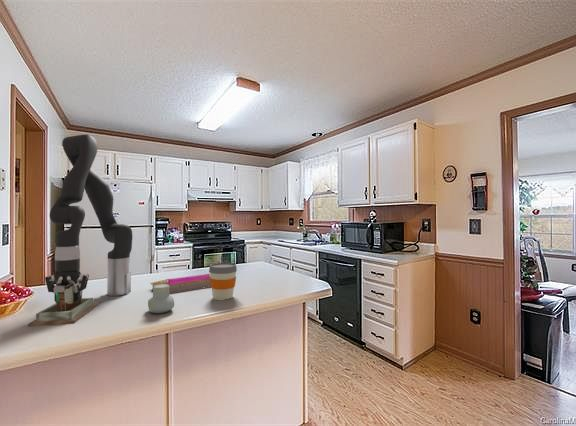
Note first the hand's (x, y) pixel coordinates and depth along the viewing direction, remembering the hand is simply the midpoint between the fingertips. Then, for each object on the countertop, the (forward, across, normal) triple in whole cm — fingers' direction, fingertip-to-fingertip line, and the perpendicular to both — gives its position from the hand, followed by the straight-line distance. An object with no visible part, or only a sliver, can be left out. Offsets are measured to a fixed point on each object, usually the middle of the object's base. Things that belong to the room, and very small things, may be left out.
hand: (67, 302), depth 109 cm
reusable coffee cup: (+5, -58, -11) cm, 59 cm away
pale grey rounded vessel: (+5, -34, +3) cm, 35 cm away
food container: (+3, +1, 0) cm, 3 cm away
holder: (+5, 0, 0) cm, 5 cm away
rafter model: (+5, -41, -33) cm, 53 cm away
